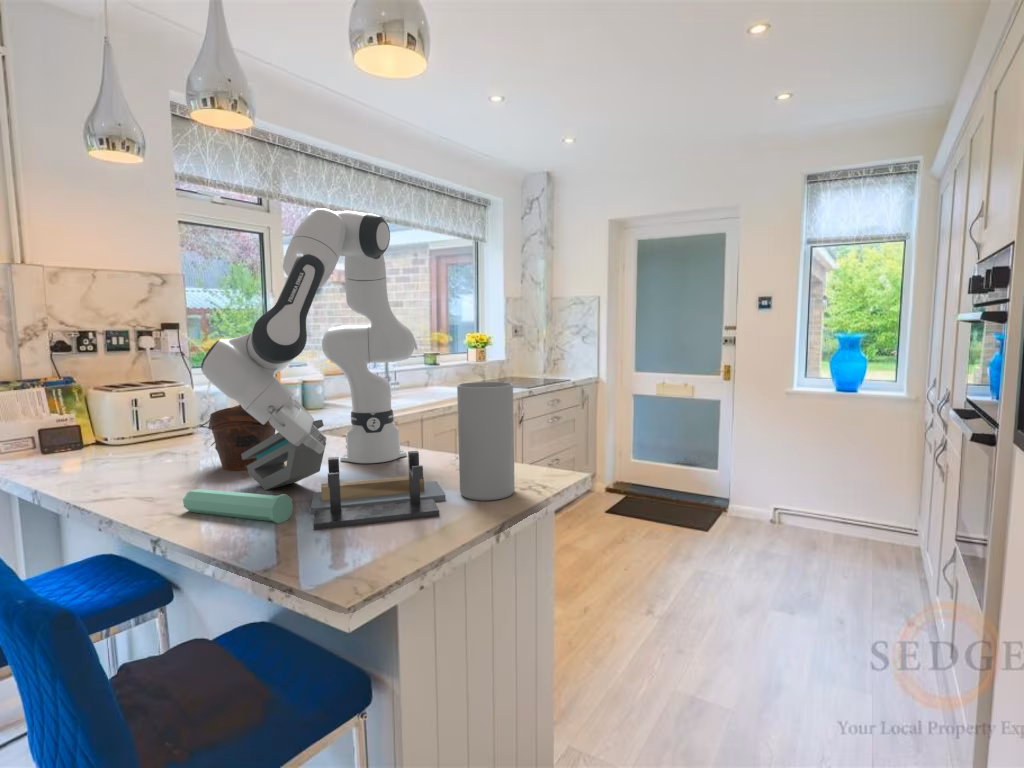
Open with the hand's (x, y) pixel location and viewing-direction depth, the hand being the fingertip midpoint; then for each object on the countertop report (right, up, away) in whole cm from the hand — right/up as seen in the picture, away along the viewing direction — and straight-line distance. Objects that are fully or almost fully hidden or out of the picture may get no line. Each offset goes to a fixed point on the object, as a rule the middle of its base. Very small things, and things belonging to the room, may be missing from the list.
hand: (323, 446), depth 122 cm
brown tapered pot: (-35, -10, +38) cm, 53 cm away
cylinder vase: (+35, -12, +7) cm, 38 cm away
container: (-17, -14, -5) cm, 22 cm away
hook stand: (+13, -13, -8) cm, 20 cm away
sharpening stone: (-11, -10, +12) cm, 19 cm away
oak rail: (+10, -11, +4) cm, 15 cm away
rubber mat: (+11, -12, +4) cm, 17 cm away
